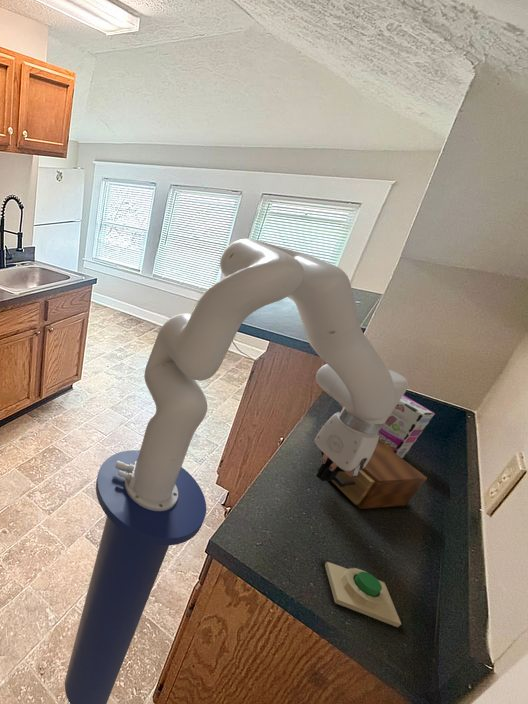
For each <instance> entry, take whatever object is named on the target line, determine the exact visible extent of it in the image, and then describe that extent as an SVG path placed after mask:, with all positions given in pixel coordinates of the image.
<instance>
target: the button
mask: <svg viewBox="0 0 528 704" xmlns="http://www.w3.org/2000/svg"><path fill="white" fill-rule="evenodd" d="M378 580H379V579H378V578H377V577H375V576H374V575H373V574H371V573H369V572H367V571H366V572H360V573H359V574H358V575H357V576H356V577H355V579H354V581H355V584H356V586H357V587H358V588H359V589H360V590H361V591H362V592H364V593H365V594H367V595H369V596H376V595H377V594H378V593H379V592H380V591H381V590H382V586H381V584H380V582H379V581H380V580H379V581H378Z"/></svg>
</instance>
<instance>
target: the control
mask: <svg viewBox="0 0 528 704" xmlns="http://www.w3.org/2000/svg"><path fill="white" fill-rule="evenodd" d="M324 568H325V572H326V575H327V579H328V582H329V586H330V589H331V593H332V598H333V600H334V603H335V604H336V605H339V606H341V607H344V608H347V609H349V610H351V611H354V612H357V613H360V614H363V615H365V616H368V617H370V618H372V619H375V620H377V621H380V622H383V623H385V624H388V625H391V626H393V627H396V628H399V627H400V626H402V622H401V619H400V616H399V615H398V612H397V610H396V607H395V605H394V602H393V599H392V597H391V595H390V592H389V590H388V587H387V585H386V583H385V582H384V581H382V580H379V579H377V580H378V581H379V582H380V584H381V586H382V590H381V591H380V592H379V593H378V594H377V595H376V596H369V595H367V594H365V593H364V592H362V591H361V590H360V589H359V588H358V587H357V586H356V584H355V581H354V579H355V577H356V576H357V575H358V574H359V573H360V572H367V571H365V570H363V569H361V568H357V567H351V568H346V567H344V566H341V565H338V564H335V563H332V562H329V561H326V562H325V563H324Z"/></svg>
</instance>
